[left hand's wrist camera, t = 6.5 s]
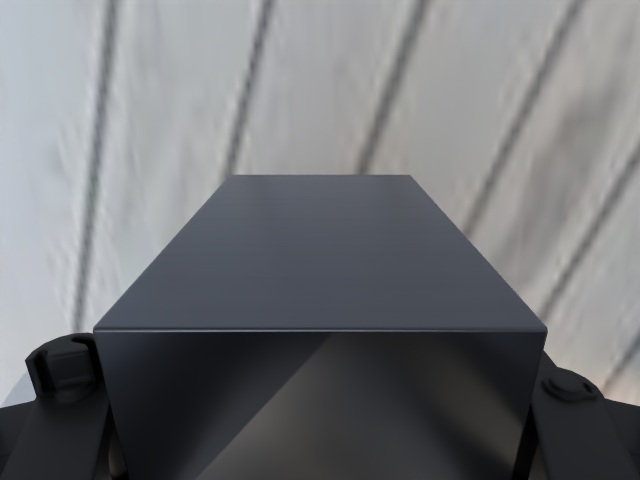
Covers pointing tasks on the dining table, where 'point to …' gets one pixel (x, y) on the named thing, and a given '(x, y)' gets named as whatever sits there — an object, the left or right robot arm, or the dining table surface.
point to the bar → (320, 341)
